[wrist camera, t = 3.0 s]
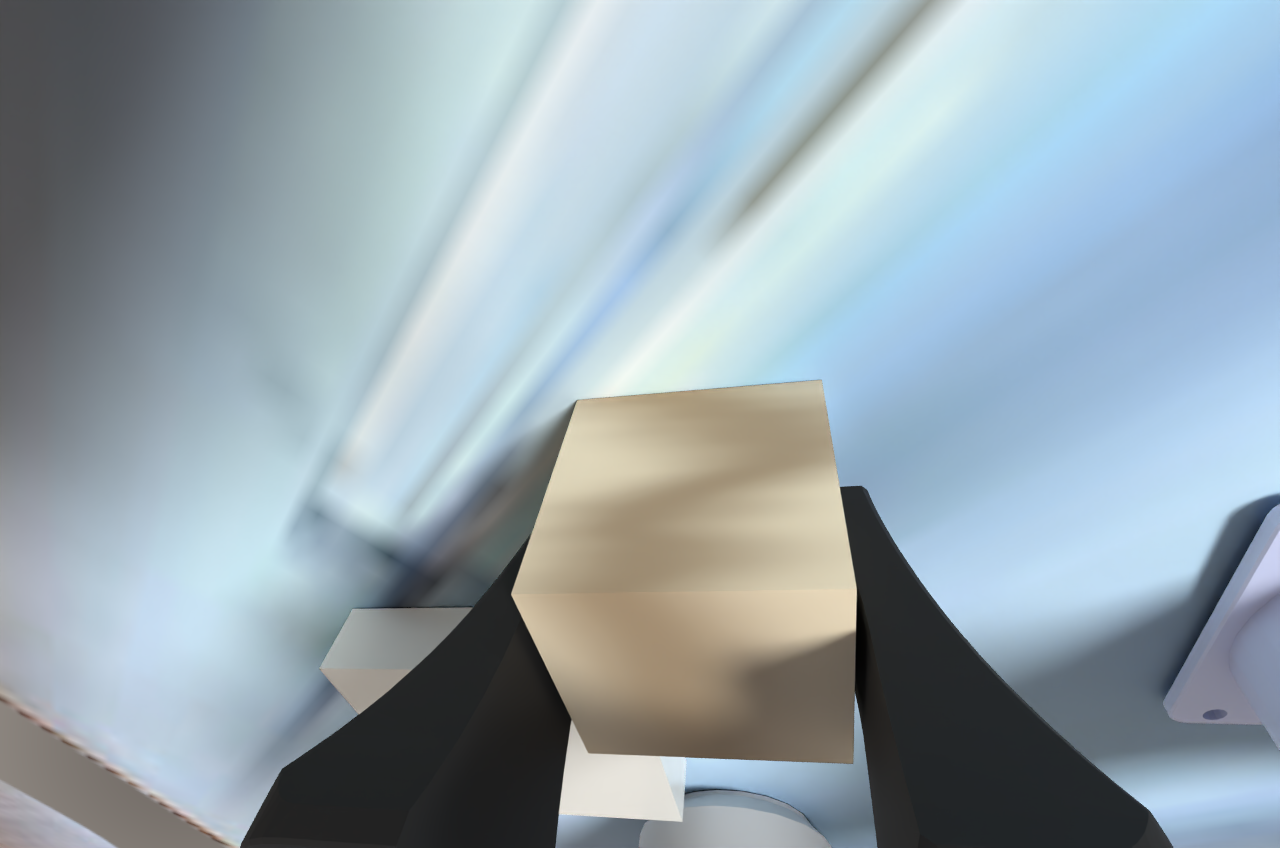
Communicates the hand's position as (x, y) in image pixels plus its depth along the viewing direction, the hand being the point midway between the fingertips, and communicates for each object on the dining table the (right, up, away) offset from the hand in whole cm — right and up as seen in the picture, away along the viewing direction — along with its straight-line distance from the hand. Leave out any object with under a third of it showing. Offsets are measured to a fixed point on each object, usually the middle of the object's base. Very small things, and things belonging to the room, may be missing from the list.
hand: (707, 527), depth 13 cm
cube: (0, +1, +1) cm, 1 cm away
